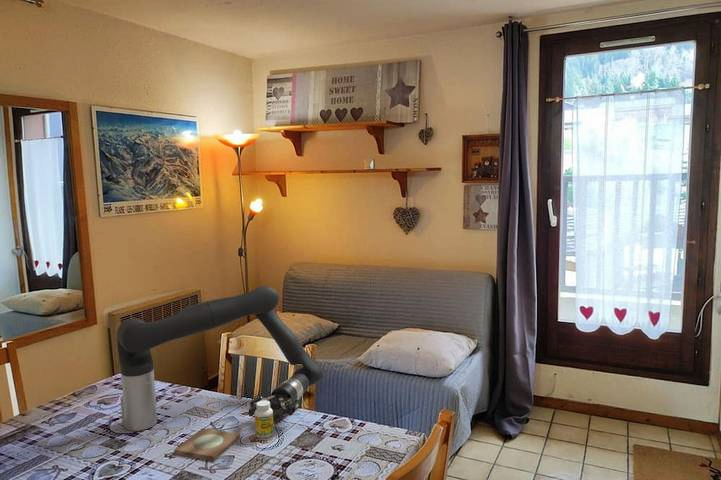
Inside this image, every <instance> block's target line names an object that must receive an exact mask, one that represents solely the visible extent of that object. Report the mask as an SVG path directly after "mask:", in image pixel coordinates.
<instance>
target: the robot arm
mask: <svg viewBox="0 0 721 480" xmlns="http://www.w3.org/2000/svg"><path fill="white" fill-rule="evenodd" d="M279 301H280V296H279V293H278V291H277V290H276V289H275V288H273V287H271V286H267V285H262V286H258V287H256V288H254V289H251V291H247V292H245V293H242V294H241V293H240V294H239V295H234V296H228V297H221V298H216V299H211V300H207V301H203V302H202V301H201V302H199V303H195V304H192V305H189V306H187V307H185V308H183V309H181V310H179V311H178V312H175V313H174V314H173V315H170V316H168V317H165V318H162V319H158V320H154V321H147V322H145V321H144V320H142V319H141V318H136V317H132V318H131V317H130V318H127V319H125V320H124V321H123V322H122V323H120V325H119V326H118V328H117V333H116V345H117V355H118V356H117V357H118V362H119V367H120V375H121V377H120V378H121V389H122V395H121V396H120V407H121V408H120V409H121V421H122V427H124V428H125V429H126V430H128V431H132V432H136V431H137V432H138V431H145V430H148V429H150V428H152V427H154V426H155V425H157V422H158V415H157V414H158V413H157V398H156V397H157V396H156V384H155V383H156V381H155V369H154V361H153V357H152V353H151V349H153V348H156V347H157V346H160V345H162V344H163V345H164V344H165V343H168V342H171V341H174V340H176V339H177V340H178V339H181V338H182V339H183V338H185V337H189V336H192V335H196V334H199V333H204V332H207V331H211V330H215V329H217V328H219V327H222V326H224V325H226V324H227V325H228V324H229V323H231V322H234V321H236V320H238V319H241V318H244V317H247V316H252V315H254V316H255V318H256V319H257V320H258V321H259V322H260V323H261V324H262V325H263V327H264V329H266V330H267V332H268V333H269V334H270V336H271V337H272V339H273V340H274V342H275V343H276V345H277V347H278V348H279V350H281V353H282V355H283V356H284V358H285V359H286V361H287V362H288V363H289V365H291V366H296V365H300V366H302V367H300V368H299V369H297V370H295V371H293V373H292V375H291V377H289V378H288V379H287V380H285V381H283V382H282V383H281V384H279V385H278V386H276V387H275V388H274V389H273V390H272V392H271V394H270V395H269V396H266V397H263V396H264V395H263V394H259V395H257V396H256V397H255V398H253V399H252V400H250V401H249V407H250V408H248V415H249V417H253V416H255V411H256V409H257V408H256V404H257V402H259V401H263V400H267V401H269V402H270V408H271V409H272V410H273V411H276V412H274V414H273V417H274V421H278V420H281V419H282V418H283V417H285V416H286V415H288V416H293V415H294V414H295V412H296V411H297V410H298V409H299V400H300V399H301V397H302V396H303V395H304V394H305V393H306V392H307V390H308V389H309V387H311V386H313V385H315V384H319V382H322V380H323V379H324V369H323V367H322V366H321V364H320V363H319V362H318V361H316V359H314V358H313V357H312V356H311V355H310V353H308V352H307V351H306V350H305V347H303V346H304V345H302V343H301V342H300V339H298V337H297V336H296V334H295V333H294V332H293V331H292V330H291V329H290V328H289V327H288V326H287V325H286V324H285V323H284V322H283V321H282V319H281V318H280V316H279V315H278V313H277V311H276V309H275V308H276V307H277V305H278V304H279ZM310 356H311V357H312V358H313V359H312V358H311V357H310Z"/></svg>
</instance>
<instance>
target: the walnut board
mask: <svg viewBox="0 0 721 480" xmlns="http://www.w3.org/2000/svg"><path fill="white" fill-rule="evenodd" d="M240 439H241V434H240V433H234V432H229V431H222V430H219V429H218V430H217V429H211V428H210V429H209V428H205V427H202V428H201V429H199V430H198V431H197V432H195V433H194V434H192V436H190V437H189V438H187V439H186V440H184V441H183V442H182V443H181V444H180V445H178V446H177V447H176V448H175V449H174V450H173V451H174V454H175V455H180V456H181V455H182V456H186V457H192V458H197V459H201V460H202V459H203V460H208V461H213V462H215V461H216V460H218V459H219V458H220V456H222V455H224V454H225V452H226V451H227V450H229V449H230V448H231V447H232V446H234V444H235V443H237V442H238V441H239V440H240Z"/></svg>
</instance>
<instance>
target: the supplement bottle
mask: <svg viewBox="0 0 721 480" xmlns="http://www.w3.org/2000/svg"><path fill="white" fill-rule="evenodd" d="M256 408H257V409H256V411H255V414H254V424H255V425H254V426H255V427H254V428H255V429H254V430H255V435H256V437H258V438H268V437H271V436H272V435H273V434H274V432H275V427H274V426H275V425H274V410H272V409H271V408H270V402H269V401H267V400H263V401H259V402H257V404H256Z"/></svg>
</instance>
